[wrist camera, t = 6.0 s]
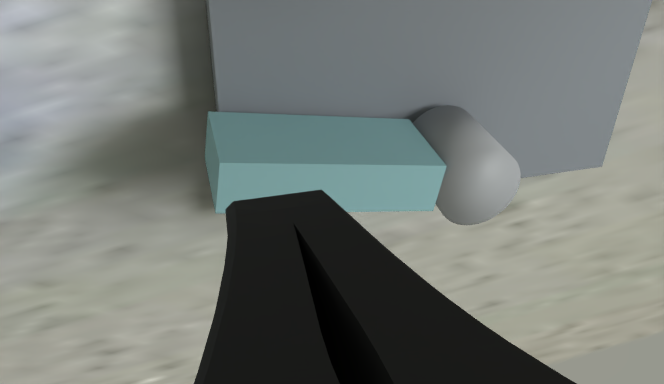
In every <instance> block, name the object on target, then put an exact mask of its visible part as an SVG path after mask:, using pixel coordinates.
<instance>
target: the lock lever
mask: <svg viewBox="0 0 664 384" xmlns="http://www.w3.org/2000/svg"><path fill="white" fill-rule="evenodd" d="M205 162H206V167H207V172H208V177H209V182H210V187H211V192H212V198H213V203H214V208H215V213H226V212H225V209H226V208H227V207H228V206H229V205H230V204H231V203H232V202H233V201H239V200H246V199H254V198H261V197H269V196H276V195H284V194H291V193H299V192H306V191H314V190H321V189H322V190H323V191H324V192H325V193H326V194H327V195H329V196H330V197H331V198H332V199H333V200H334V201H335V202H336V203H337V204H339V205H340V206H341V207H342V208H343V209H344V210H345V211H346V212H376V211H433V210H434V206H435V204H436V205H437V207H438V208H439V210H440V211H441V212H442V214H443V215H444V216H445V217H446V218H447V219H448V220H449V221H451V222H453V223H456V224H460V225H474V224H479V223H482V222H485V221H487V220H489V219H491V218H493V217H494V216H496V215H498V214H499V213H500V212H501V211H503V210H504V209H505V208H506V207H507V206H508V205H509V203H510V202H511V201H512V199H513V198H514V196H515V194H516V192H517V190H518V188H519V184H520V178H521V174H520V168H519V165H518V163H517V161H516V160H515V159H514V158H513V157H512V156H511V155H510V154H509V153H508V152H507V151H506V150H505V149H504V148H503V147H502V146H501V145H500V144H499V143H498V142H497V141H496V140H495V139H494V138H493V137H492V136H491V135H490V134H489V133H488V132H487V131H486V130H485V129H484V128H483V127H482V126H481V125H480V124H479V123H478V122H477V121H476V120H475V119H474V118H473V117H472V116H471V115H470V114H469V113H468V112H467V111H466V110H464V109H462V108H460V107H457V106H452V105H444V106H439V107H435V108H433V109H430V110H428V111H426V112H425V113H423V114H422V115H421V116H419V117H418V118H417V119H416V120H415V121H414V122H413V123H412V122H411V121H410V120H409V119H391V118H365V117H339V116H313V115H287V114H261V113H235V112H209V111H208V118H207V132H206V147H205Z"/></svg>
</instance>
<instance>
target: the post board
mask: <svg viewBox="0 0 664 384" xmlns="http://www.w3.org/2000/svg"><path fill="white" fill-rule="evenodd" d="M651 3H652V0H206V8H207V18H208V29H209V39H210V50H211V60H212V71H213V81H214V92H215V102H216V112H235V113H261V114H287V115H313V116H339V117H365V118H391V119H409V120H410V121H411V122H412V123H413V122H414V121H415V120H416V119H417V118H418V117H419V116H421V115H422V114H423V113H425V112H426V111H428V110H430V109H433V108H435V107H439V106H444V105H452V106H457V107H460V108H462V109H464V110H466V111H467V112H468V113H469V114H470V115H471V116H472V117H473V118H474V119H475V120H476V121H477V122H478V123H479V124H480V125H481V126H482V127H483V128H484V129H485V130H486V131H487V132H488V133H489V134H490V135H491V136H492V137H493V138H494V139H495V140H496V141H497V142H498V143H499V144H500V145H501V146H502V147H503V148H504V149H505V150H506V151H507V152H508V153H509V154H510V155H511V156H512V157H513V158H514V159H515V160H516V161H517V163H518V165H519V168H520V174H521V178H524V177H531V176H538V175H546V174H553V173H560V172H567V171H574V170H581V169H588V168H595V167H602V165H603V161H604V158H605V155H606V151H607V148H608V145H609V141H610V138H611V135H612V131H613V128H614V125H615V122H616V118H617V115H618V112H619V108H620V105H621V102H622V98H623V95H624V92H625V89H626V85H627V82H628V79H629V75H630V72H631V69H632V65H633V62H634V59H635V55H636V52H637V49H638V46H639V42H640V39H641V36H642V32H643V29H644V26H645V22H646V19H647V16H648V13H649V9H650V6H651Z"/></svg>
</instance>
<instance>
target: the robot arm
mask: <svg viewBox="0 0 664 384" xmlns="http://www.w3.org/2000/svg"><path fill="white" fill-rule="evenodd" d="M225 212H226V222H227V232H228V239H227V250H226V258H225V266H224V272H223V276H222V281H221V286H220V291H219V296H218V301H217V306H216V310H215V314H214V318H213V322H212V325H211V329H210V332H209V336H208V339H207V343H206V346H205V349H204V353H203V356H202V360H201V363H200V366H199V370H198V373H197V376H196V379H195V382H194V384H576V383H575V382H573V381H571V380H569V379H568V378H566V377H564V376H563V375H561V374H559V373H558V372H556V371H555V370H553V369H551V368H550V367H548V366H547V365H545V364H543V363H542V362H540V361H539V360H537V359H535V358H534V357H532V356H531V355H529V354H527V353H526V352H524V351H523V350H521V349H519V348H518V347H516V346H515V345H513V344H512V343H510V342H508V341H507V340H505V339H504V338H502V337H501V336H500V335H498V334H497V333H495V332H494V331H492V330H491V329H489V328H488V327H486V326H485V325H483V324H482V323H481V322H479V321H478V320H477V319H475V318H474V317H472V316H471V315H470V314H468V313H467V312H466V311H464V310H463V309H461V308H460V307H459V306H457V305H456V304H455V303H453V302H452V301H451V300H449V299H448V298H447V297H445V296H444V295H443V294H442V293H440V292H439V291H438V290H436V289H435V288H434V287H433V286H431V285H430V284H429V283H428V282H426V281H425V280H424V279H423V278H422V277H420V276H419V275H418V274H417V273H416V272H414V271H413V270H412V269H411V268H409V267H408V266H407V265H406V264H405V263H403V262H402V261H401V260H400V259H399V258H397V257H396V256H395V255H394V254H393V253H392V252H390V251H389V250H388V249H387V248H386V247H385V246H384V245H382V244H381V243H380V242H379V241H378V240H377V239H376V238H375V237H373V236H372V235H371V234H370V233H369V232H368V231H367V230H366V229H365V228H363V227H362V226H361V225H360V224H359V223H358V222H357V221H356V220H355V219H354V218H353V217H351V216H350V215H349V214H348V213H347V212H346V211H345V210H344V209H343V208H342V207H341V206H340V205H339V204H337V203H336V202H335V201H334V200H333V199H332V198H331V197H330V196H329V195H327V194H326V193H325V192H324V191H323V190H322V189H321V190H314V191H306V192H299V193H291V194H284V195H276V196H269V197H261V198H254V199H246V200H239V201H233V202H232V203H231V204H230V205H229V206H228V207H227V208H226V209H225Z"/></svg>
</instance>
